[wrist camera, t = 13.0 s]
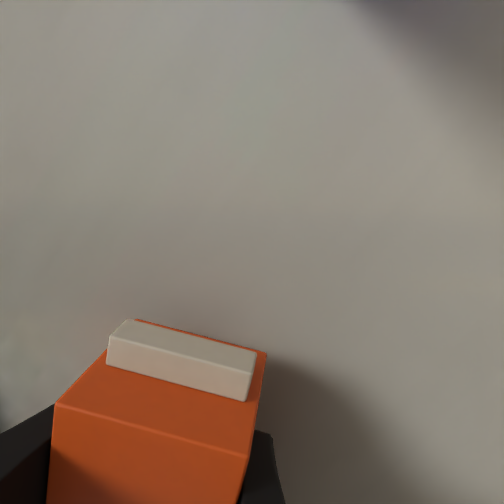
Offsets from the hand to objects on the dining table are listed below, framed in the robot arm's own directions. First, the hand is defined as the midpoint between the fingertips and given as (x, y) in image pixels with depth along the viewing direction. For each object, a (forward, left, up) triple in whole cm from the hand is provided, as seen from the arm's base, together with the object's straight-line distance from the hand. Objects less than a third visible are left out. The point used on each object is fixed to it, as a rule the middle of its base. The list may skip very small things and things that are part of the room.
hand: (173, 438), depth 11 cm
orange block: (0, 0, -1) cm, 1 cm away
